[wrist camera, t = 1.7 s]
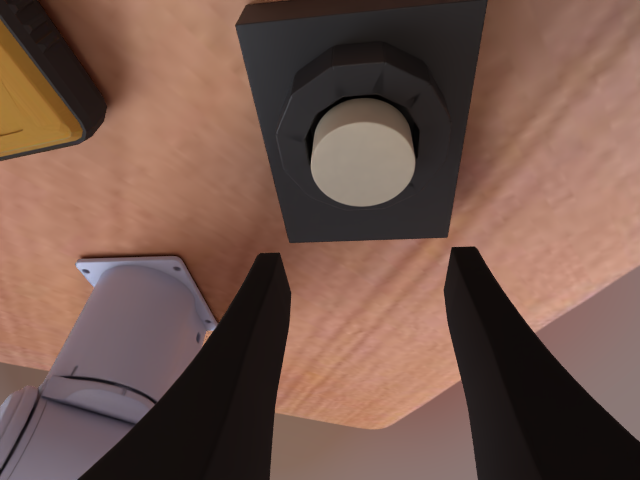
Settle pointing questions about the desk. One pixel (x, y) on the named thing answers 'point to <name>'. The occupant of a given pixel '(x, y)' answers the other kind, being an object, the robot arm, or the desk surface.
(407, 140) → the power button
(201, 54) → the desk surface
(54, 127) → the electronic device
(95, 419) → the robot arm
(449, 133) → the switch box
